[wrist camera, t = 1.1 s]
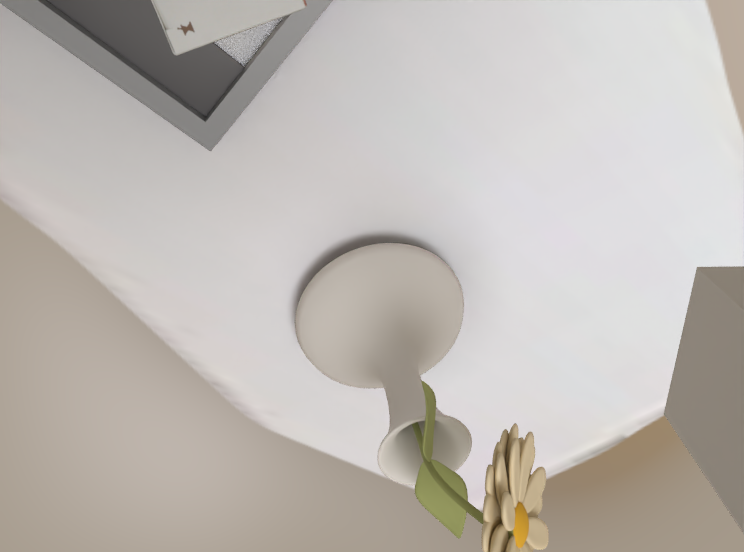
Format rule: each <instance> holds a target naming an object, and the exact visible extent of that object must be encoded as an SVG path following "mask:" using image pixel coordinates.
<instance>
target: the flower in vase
mask: <svg viewBox="0 0 744 552" xmlns="http://www.w3.org/2000/svg"><path fill="white" fill-rule="evenodd" d="M463 310H464V299H463V292H462V288H461V285H460V283H459V280H458V278H457V277H456V275H455V273H454V272H453V270H452V269H451V268H450V267H449V266H448V265H447V264H446V263H445V262H444V261H443V260H442V259H440V258H439V257H438V256H436V255H435V254H433V253H431V252H429V251H427V250H425V249H422V248H420V247H416V246H412V245H408V244H401V243H380V244H373V245H368V246H364V247H360V248H357V249H354V250H352V251H349V252H347V253H345V254H343V255H341V256H339V257H338V258H336V259H334V260H333V261H331V262H330V263H329V264H327V265H326V266H325V267H323V268H322V269H321V270H320V271H319V272H318V273H317V274H316V275H315V276H314V277H313V278H312V280H311V281H310V282H309V284H308V285H307V287H306V288H305V290H304V292H303V294H302V296H301V298H300V301H299V303H298V307H297V311H296V318H295V328H296V335H297V339H298V342H299V344H300V347H301V349H302V351H303V352H304V354H305V355H306V357H307V358H308V359H309V360H310V361H311V363H312V364H313V365H314V366H315V367H316V368H317V369H318V370H319V371H321V372H322V373H323V374H324V375H326V376H327V377H329V378H331V379H332V380H335V381H337V382H339V383H342V384H345V385H348V386H353V387H358V388H384V389H385V392H386V396H387V400H388V406H389V414H390V427H389V432H388V434H387V435H386V436H385V438H384V439H383V441H382V443H381V445H380V448H379V451H378V465H379V467H380V469H381V471H382V472H383V474H384V475H385V476H386V477H388V478H389V479H391V480H392V481H395V482H397V483H400V484H405V485H415V494H416V497H417V499H418V500H419V502H420V503H421V504H422V505H423V506H424V507H425V509H427V510H428V511H429V512H430V513H431V514H432V515H433V516H434V517H435V518H436V519H438V520H439V521H440V522H441V523H442V524H443V525H444V526H445V527H446V528H448V529H449V530H450V531H451V532H452V533H453V534H454V535H455V536H456V537H457V538H460V537H461V534H462V531H463V528H464V523H465V519H466V513H467V512H468V513H469V514H470V515H471V516H473V517H474V518H475V519H477V520H478V521H479V522H480V523H482V524H483V526H482V549H483V551H484V552H533V550H534V549H538V550H542V549H545V548H546V547H547V545H548V538H549V535H548V528H547V526H546V524H545V523H544V522H543V521H542V520H541V519H539V518H538V514H539V513H540V511H541V509H542V493H543V490H544V487H545V484H546V473H545V469H544V468H543V467H539V468H537V469H536V470H535V471H534V472H533V474H532V475H531V474H530V473H531V470H532V466H533V463H534V458H535V447H534V436H533V433H532V432H529V433H528V434H527V435H526V437H525V440H523V438H522V437H521V438H519V439H518V426H517V424H516V423H515V424H514V425H513V426H512V428H511V430H510V432H509V434H508V431H507V430H506V429H505V430H504V431H503V433H502V435H501V439H500V442H497V444H496V447H495V450H494V454H493V462H492V465H491V464H490V465H488V467H487V471H486V480H485V491H486V496H485V499H484V506H483V513H482V512H480V511H479V510H478V509H476V508H475V507H474V506H473V505H471V504H470V503H469V502H468V495H467V488H466V484H465V482H464V481H463V479H462V478H461V477H460V476H459V475H458V474H457V473H455V471H456V470H457V469H458V468H459V467H460V466H461V465H462V464H463V463H464V462H465V461H466V459H467V457H468V456H469V453H470V451H471V447H472V438H471V434H470V432H469V430H468V429H467V427H466V426H465V425H464V424H463V423H461V422H460V421H459V420H457V419H455V418H453V417H451V416H447V415H444V414H443V413H442V412H440V411H439V410H438V409H437V407H436V399H435V395H434V392H433V390H432V389H431V388H430V387H429V386H428V385H427V384H426V383H425V382H423V381H422V380H421V377H420V375H422V374H423V373H425V372H427V371H428V370H429V369H431V368H432V367H434V366H435V365H436V364H437V363H438V362H439V361H440V360H441V359H442V358H443V357H444V356H445V355H446V354H447V353H448V351H449V350H450V348H451V347H452V346H453V344H454V342H455V340H456V338H457V336H458V334H459V331H460V329H461V324H462V320H463Z"/></svg>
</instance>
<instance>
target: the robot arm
mask: <svg viewBox="0 0 744 552" xmlns="http://www.w3.org/2000/svg"><path fill="white" fill-rule="evenodd" d="M664 415H665V417H666V418H667V420H668V421H669V422H670V424H671V426H672V427H673V429H674V430H675V432H676V433H677V435H678V436H679V437H680V439H681V440H682V442H683V444H684V445H685V447H686V448H687V449H688V451H689V453H690V454H691V456H692V457H693V459H694V460H695V461H696V463H697V465H698V466H699V468H700V469H701V471H702V472H703V474H704V475H705V476H706V478H707V480H708V481H709V483H710V484H711V485H712V487H713V489H714V490H715V492H716V493H717V495H718V496H719V498H720V499H721V501H722V502H723V504H724V505H725V507H726V508H727V510H728V511H729V513H730V514H731V516H732V517H733V518H734V520H735V522H736V523H737V524H738V526H739V528H740V529H741V531H742V532H743V534H744V267H697V270H696V274H695V279H694V283H693V287H692V292H691V296H690V301H689V305H688V310H687V314H686V318H685V323H684V327H683V332H682V336H681V340H680V345H679V349H678V354H677V358H676V362H675V367H674V371H673V376H672V380H671V384H670V389H669V393H668V398H667V402H666V407H665V411H664Z"/></svg>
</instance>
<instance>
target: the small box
mask: <svg viewBox="0 0 744 552" xmlns="http://www.w3.org/2000/svg"><path fill="white" fill-rule="evenodd" d="M151 1H152V4H153V6H154V8H155V11H156V13H157V15H158V18H159V20H160V23H161V25H162V27H163V30H164V32H165V35H166V37H167V40H168V42H169V45H170V47H171V50H172V52H173V54H174V55H180V54H183V53H185V52H188V51H191V50H193V49H196V48H199V47H202V46H204V45H207V44H210V43H213V42H215V41H218V40H221V39H223V38H226V37H229V36H231V35H234V34H237V33H240V32H242V31H245V30H248V29H251V28H254V27H256V26H259V25H262V24H265V23H267V22H270V21H273V20H276V19H278V18H281V17H284V16H287V15H289V14H292V13H295V12H298V11H300V10H303V9H305V8H306V7H307V4H306V1H305V0H151Z"/></svg>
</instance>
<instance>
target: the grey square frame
mask: <svg viewBox="0 0 744 552" xmlns="http://www.w3.org/2000/svg"><path fill="white" fill-rule="evenodd" d="M305 1H306V4H307V7H306V8H305V9H303V10H300V11H298V12H295V13H292V14H289V15H287V16H285V17H284V18H283V19H282V20H281V22H280V23H279V24H278V25H277V27H276V28H275V29H274V31H273V32H272V33H271V34H270V36H269V37H268V38H267V39H266V41H265V42H264V43H263V44H262V46H261V47H260V48H259V50H258V51H257V52H256V53H255V55H254V56H253V57H252V58H251V60H250V61H249V62H248V63H247V65H246V66H245V67H243V66H242V65H241V64H240V63H238V62H237V61H236V60H235V59H233V58H232V57H231V56H229V55H228V54H227V53H226V52H224V51H223V50H222V49H221V48H219V47H218V46H217V45H216V44H214V43H210V44H207V45H204V46H202V47H199V48H196V49H193V50H191V51H188V52H185V53H183V54H180V55H174V54H173V52H172V50H171V47H170V45H169V42H168V40H167V37H166V35H165V32H164V30H163V27H162V25H161V23H160V20H159V18H158V15H157V13H156V11H155V8H154V6H153V4H152V1H151V0H0V3H1V4H2V5H4V6H5V7H7V8H8V9H9V10H11V11H12V12H14V13H15V14H16V15H18V16H19V17H21V18H22V19H24V20H25V21H26V22H28V23H29V24H31V25H32V26H33V27H35V28H36V29H38V30H39V31H41V32H42V33H43V34H45V35H46V36H48V37H49V38H51V39H52V40H53V41H55V42H56V43H58V44H59V45H60V46H62V47H63V48H65V49H66V50H68V51H69V52H70V53H72V54H73V55H75V56H76V57H77V58H79V59H80V60H82V61H83V62H85V63H86V64H87V65H89V66H90V67H92V68H93V69H94V70H96V71H97V72H99V73H100V74H102V75H103V76H104V77H106V78H107V79H109V80H110V81H111V82H113V83H114V84H116V85H117V86H119V87H120V88H121V89H123V90H124V91H126V92H127V93H128V94H130V95H131V96H133V97H134V98H136V99H137V100H138V101H140V102H141V103H143V104H144V105H146V106H147V107H148V108H150V109H151V110H153V111H154V112H155V113H157V114H158V115H160V116H161V117H163V118H164V119H165V120H167V121H168V122H170V123H171V124H172V125H174V126H175V127H177V128H178V129H180V130H181V131H182V132H184V133H185V134H187V135H188V136H189V137H191V138H192V139H194V140H195V141H197V142H198V143H199V144H201V145H202V146H204V147H205V148H206V149H208V150H209V151H212V149H213V148H214V147H215V146H216V144H217V143H218V142H219V141H220V139H221V138H222V137H223V136H224V134H225V133H226V132H227V131H228V129H229V128H230V127H231V126H232V124H233V123H234V122H235V121H236V120H237V118H238V117H239V116H240V115H241V113H242V112H243V111H244V110H245V108H246V107H247V106H248V105H249V103H250V102H251V101H252V100H253V98H254V97H255V96H256V95H257V94H258V92H259V91H260V90H261V89H262V87H263V86H264V85H265V84H266V82H267V81H268V80H269V79H270V77H271V76H272V75H273V74H274V72H275V71H276V70H277V69H278V68H279V66H280V65H281V64H282V63H283V61H284V60H285V59H286V58H287V56H288V55H289V54H290V53H291V51H292V50H293V49H294V48H295V46H296V45H297V44H298V43H299V42H300V40H301V39H302V38H303V37H304V35H305V34H306V33H307V32H308V30H309V29H310V28H311V27H312V25H313V24H314V23H315V22H316V20H317V19H318V18H319V17H320V16H321V14H322V13H323V12H324V11H325V9H326V8H327V7H328V6H329V4H330V3H331V2H332V1H333V0H305Z"/></svg>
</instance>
